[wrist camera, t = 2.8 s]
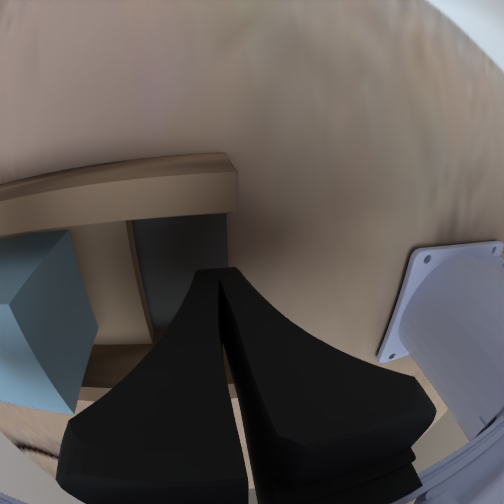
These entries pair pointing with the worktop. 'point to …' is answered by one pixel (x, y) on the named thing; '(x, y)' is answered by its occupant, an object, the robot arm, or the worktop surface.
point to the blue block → (43, 322)
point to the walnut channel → (131, 244)
